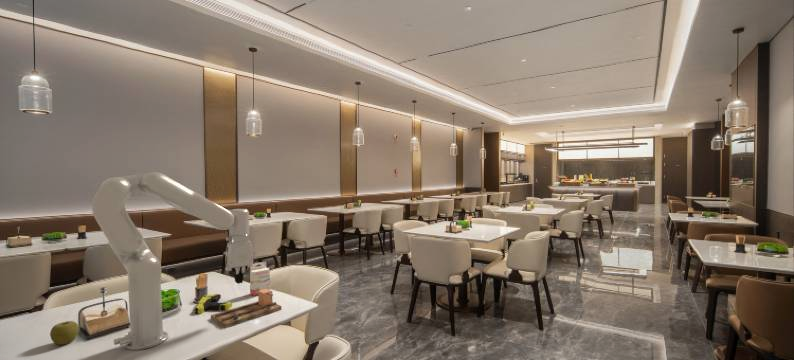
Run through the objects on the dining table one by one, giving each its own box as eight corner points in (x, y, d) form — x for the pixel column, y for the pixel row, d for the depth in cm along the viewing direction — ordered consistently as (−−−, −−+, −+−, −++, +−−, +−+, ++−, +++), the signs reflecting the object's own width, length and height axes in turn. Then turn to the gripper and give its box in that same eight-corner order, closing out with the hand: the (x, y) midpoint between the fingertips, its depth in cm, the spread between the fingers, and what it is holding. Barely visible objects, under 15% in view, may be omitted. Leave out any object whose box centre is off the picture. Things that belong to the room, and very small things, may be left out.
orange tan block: (268, 309, 154) (267, 295, 154) (258, 304, 160) (258, 290, 160) (277, 306, 157) (276, 292, 157) (267, 301, 163) (266, 288, 163)
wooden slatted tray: (225, 328, 140) (224, 318, 140) (210, 318, 150) (210, 309, 150) (281, 309, 157) (281, 301, 157) (265, 302, 167) (265, 294, 167)
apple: (79, 335, 137) (78, 317, 136) (79, 343, 131) (78, 323, 130) (51, 342, 132) (50, 323, 131) (50, 350, 126) (49, 330, 125)
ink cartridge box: (253, 296, 176) (252, 266, 175) (250, 293, 180) (248, 264, 179) (270, 292, 181) (269, 262, 181) (267, 289, 185) (266, 261, 185)
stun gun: (237, 291, 177) (203, 294, 173) (229, 305, 158) (191, 309, 154) (237, 297, 177) (203, 300, 173) (230, 311, 158) (191, 315, 154)
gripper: (224, 242, 143) (224, 288, 143) (260, 237, 154) (260, 280, 154) (216, 239, 148) (216, 284, 148) (252, 235, 159) (252, 277, 159)
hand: (239, 282), depth 151 cm, fingers closed
